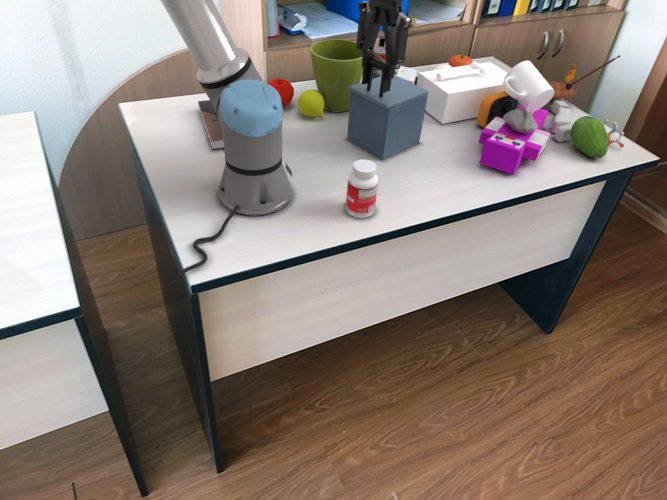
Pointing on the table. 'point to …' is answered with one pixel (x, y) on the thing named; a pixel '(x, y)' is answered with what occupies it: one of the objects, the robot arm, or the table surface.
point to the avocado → (590, 136)
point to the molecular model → (614, 132)
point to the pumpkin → (460, 61)
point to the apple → (283, 90)
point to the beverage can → (381, 53)
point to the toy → (512, 143)
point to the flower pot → (336, 71)
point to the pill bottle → (362, 189)
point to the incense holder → (567, 89)
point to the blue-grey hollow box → (385, 125)
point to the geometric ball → (442, 66)
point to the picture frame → (211, 124)
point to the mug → (528, 86)
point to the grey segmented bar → (561, 121)
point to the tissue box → (460, 90)
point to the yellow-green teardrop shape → (311, 103)
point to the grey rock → (520, 121)
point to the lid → (396, 96)
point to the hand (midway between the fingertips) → (375, 86)
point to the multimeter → (496, 107)
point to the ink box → (407, 74)
